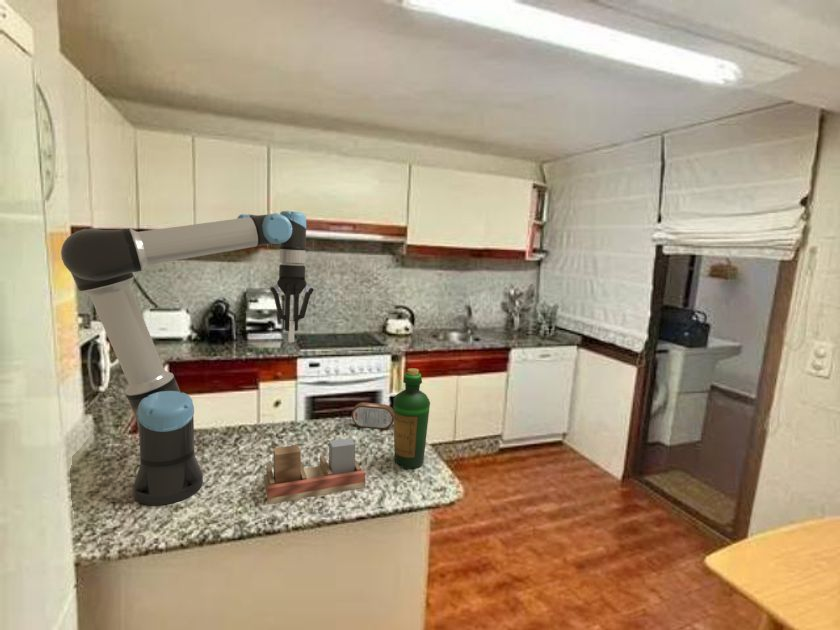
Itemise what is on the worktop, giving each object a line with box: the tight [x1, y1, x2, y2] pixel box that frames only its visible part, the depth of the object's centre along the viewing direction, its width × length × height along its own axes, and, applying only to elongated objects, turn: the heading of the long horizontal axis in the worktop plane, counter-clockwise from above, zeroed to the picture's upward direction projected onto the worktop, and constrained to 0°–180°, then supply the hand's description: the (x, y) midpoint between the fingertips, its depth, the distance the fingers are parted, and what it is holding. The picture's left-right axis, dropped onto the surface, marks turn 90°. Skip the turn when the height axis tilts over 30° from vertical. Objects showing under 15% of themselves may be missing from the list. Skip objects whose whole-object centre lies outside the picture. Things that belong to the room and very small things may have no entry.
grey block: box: [328, 437, 356, 475], centre depth 119 cm, size 6×5×9 cm
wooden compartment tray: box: [263, 454, 366, 505], centre depth 117 cm, size 24×12×4 cm, turn 114°
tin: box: [351, 401, 394, 430], centre depth 156 cm, size 15×3×8 cm, turn 84°
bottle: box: [393, 367, 431, 469], centre depth 130 cm, size 11×11×28 cm
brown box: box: [273, 444, 302, 484], centre depth 113 cm, size 6×5×9 cm
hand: (291, 341), depth 139 cm, fingers closed
